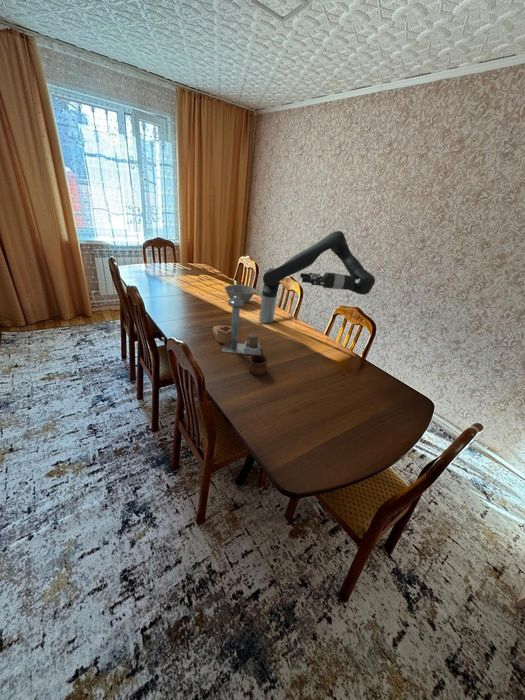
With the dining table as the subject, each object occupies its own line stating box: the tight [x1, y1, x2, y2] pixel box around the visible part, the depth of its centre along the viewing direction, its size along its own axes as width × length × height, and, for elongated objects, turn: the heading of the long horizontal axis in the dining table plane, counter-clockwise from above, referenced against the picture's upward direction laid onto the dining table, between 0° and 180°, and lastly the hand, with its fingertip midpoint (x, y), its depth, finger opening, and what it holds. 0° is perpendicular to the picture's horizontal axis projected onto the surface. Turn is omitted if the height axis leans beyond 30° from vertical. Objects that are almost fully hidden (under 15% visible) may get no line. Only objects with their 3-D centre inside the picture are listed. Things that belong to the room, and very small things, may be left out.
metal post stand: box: [221, 296, 262, 356], centre depth 143 cm, size 10×20×28 cm, turn 90°
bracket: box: [212, 325, 231, 344], centre depth 158 cm, size 18×8×7 cm, turn 23°
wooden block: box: [247, 333, 258, 348], centre depth 148 cm, size 4×4×8 cm
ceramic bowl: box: [224, 284, 256, 304], centre depth 211 cm, size 22×23×10 cm
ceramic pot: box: [248, 355, 268, 377], centre depth 131 cm, size 18×18×7 cm
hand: (301, 277), depth 142 cm, fingers open, 8 cm apart
